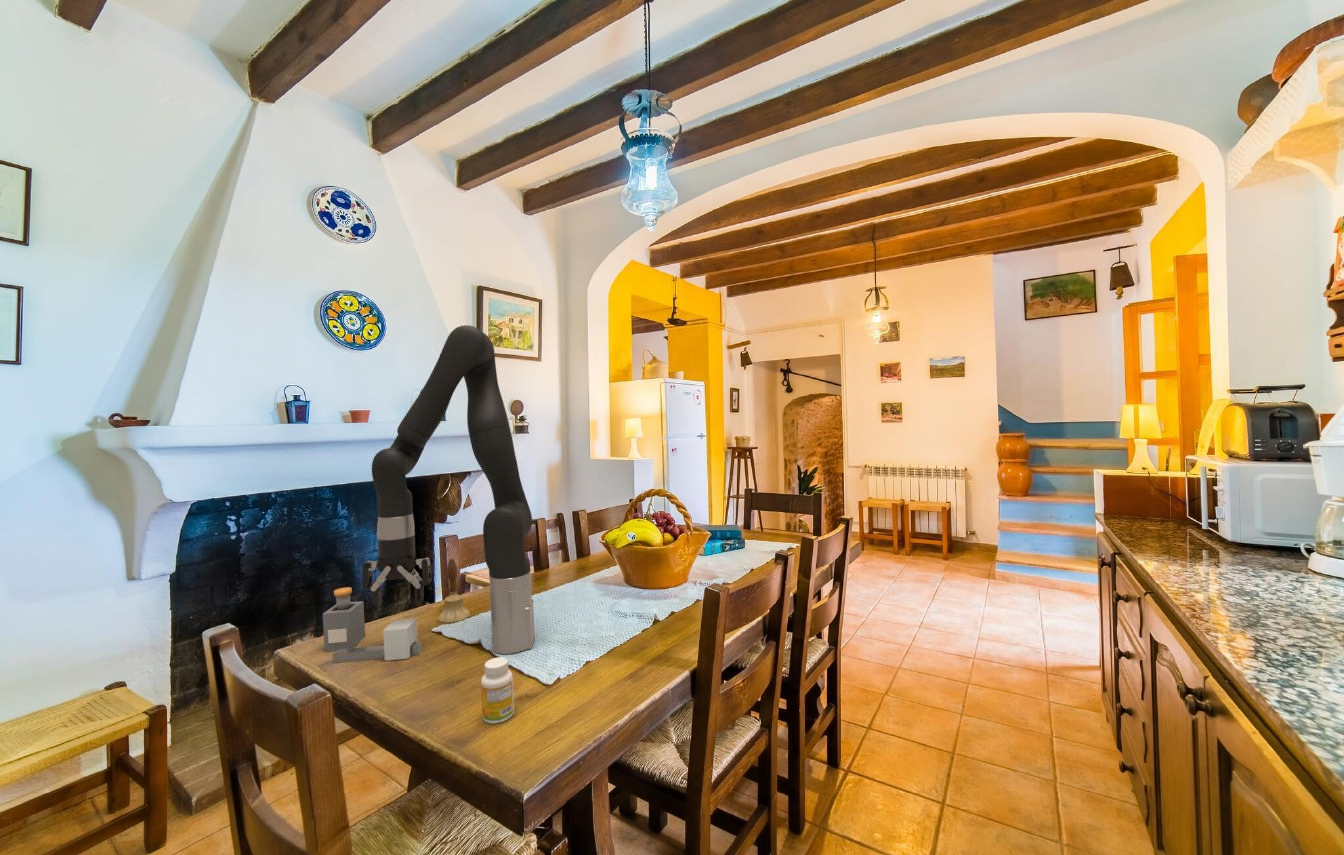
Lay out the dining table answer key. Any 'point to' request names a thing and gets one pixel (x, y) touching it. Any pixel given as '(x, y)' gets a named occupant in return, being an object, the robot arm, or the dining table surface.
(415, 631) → the carriage
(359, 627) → the grey square housing
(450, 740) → the dining table surface
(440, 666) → the dining table surface
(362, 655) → the rail
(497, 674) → the supplement bottle
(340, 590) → the ball
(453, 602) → the hand bell
